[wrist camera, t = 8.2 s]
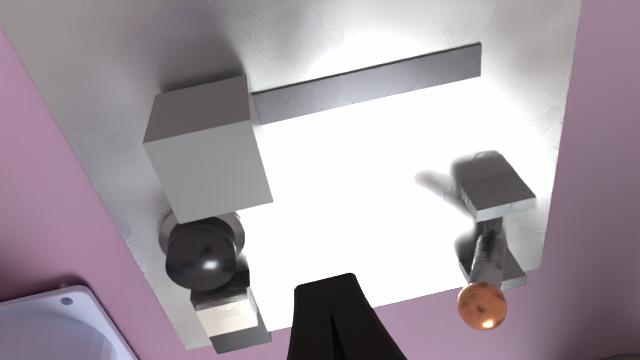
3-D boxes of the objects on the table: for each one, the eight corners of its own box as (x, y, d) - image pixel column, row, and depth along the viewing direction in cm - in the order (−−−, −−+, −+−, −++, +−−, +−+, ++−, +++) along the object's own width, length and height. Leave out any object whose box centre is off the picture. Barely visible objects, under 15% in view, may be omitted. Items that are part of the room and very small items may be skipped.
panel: (188, 330, 25) (184, 383, 23) (-109, -216, 12) (-194, -226, 9) (528, 250, 25) (559, 295, 23) (608, -363, 12) (702, -408, 10)
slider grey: (185, 169, 18) (179, 224, 15) (155, 95, 16) (142, 143, 13) (268, 151, 18) (274, 202, 15) (246, 74, 16) (250, 119, 13)
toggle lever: (471, 251, 23) (453, 345, 19) (473, 199, 21) (453, 292, 17) (512, 257, 22) (502, 355, 19) (518, 204, 20) (507, 302, 17)
